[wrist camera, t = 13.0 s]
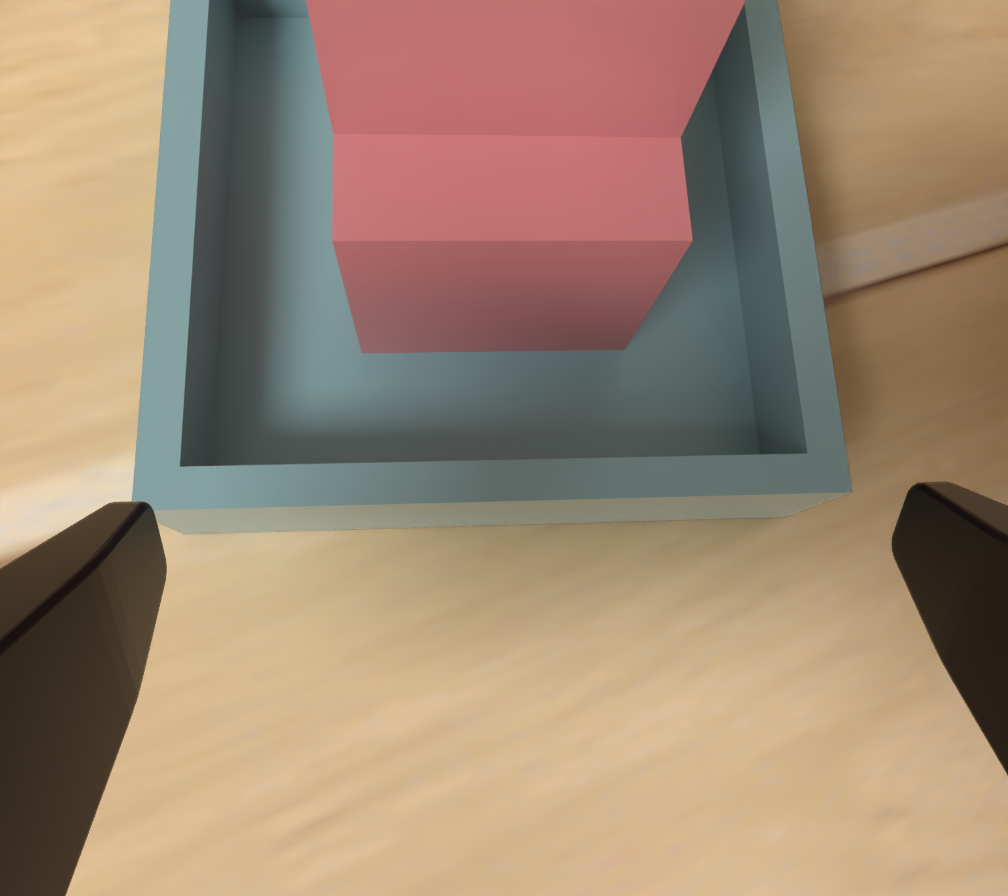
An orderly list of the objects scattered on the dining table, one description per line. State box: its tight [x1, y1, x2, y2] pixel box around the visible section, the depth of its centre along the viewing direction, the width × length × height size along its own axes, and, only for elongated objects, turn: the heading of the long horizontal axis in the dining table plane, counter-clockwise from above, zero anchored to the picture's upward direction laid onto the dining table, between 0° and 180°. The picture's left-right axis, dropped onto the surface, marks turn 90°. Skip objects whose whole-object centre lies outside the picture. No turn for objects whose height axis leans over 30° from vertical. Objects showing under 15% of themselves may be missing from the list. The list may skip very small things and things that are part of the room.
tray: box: [132, 0, 852, 534], centre depth 18 cm, size 14×14×3 cm
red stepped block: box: [306, 0, 746, 353], centre depth 14 cm, size 7×6×10 cm
